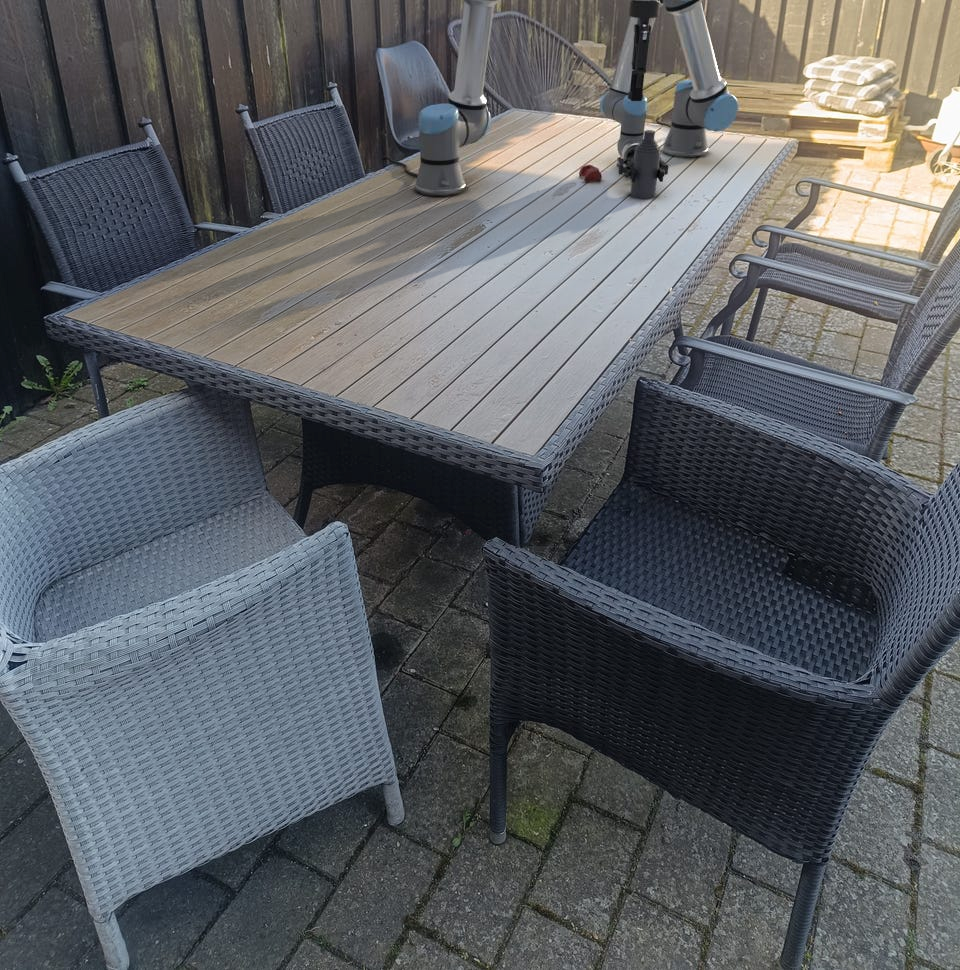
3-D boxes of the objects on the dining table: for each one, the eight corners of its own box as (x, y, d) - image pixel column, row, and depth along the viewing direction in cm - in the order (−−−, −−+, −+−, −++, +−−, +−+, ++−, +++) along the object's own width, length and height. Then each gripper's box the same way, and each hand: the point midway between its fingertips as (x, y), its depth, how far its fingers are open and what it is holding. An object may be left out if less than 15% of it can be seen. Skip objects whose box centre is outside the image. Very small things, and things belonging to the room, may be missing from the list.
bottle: (634, 190, 258) (640, 127, 248) (658, 193, 256) (665, 129, 245) (627, 196, 253) (633, 132, 242) (651, 200, 250) (658, 135, 240)
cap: (634, 100, 224) (635, 94, 223) (624, 98, 227) (624, 91, 226) (646, 99, 226) (647, 92, 225) (636, 96, 228) (636, 90, 228)
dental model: (594, 161, 269) (603, 168, 262) (593, 174, 271) (602, 181, 265) (577, 162, 268) (586, 169, 261) (577, 176, 270) (586, 183, 264)
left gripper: (664, 3, 205) (653, 106, 219) (656, -5, 219) (645, 92, 233) (633, 3, 206) (624, 105, 219) (627, -5, 220) (618, 92, 233)
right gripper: (666, 168, 267) (680, 190, 249) (602, 168, 267) (612, 190, 248) (669, 143, 263) (684, 163, 244) (604, 144, 263) (614, 164, 244)
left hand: (635, 98), depth 226 cm, fingers closed on cap, 4 cm apart
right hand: (648, 177), depth 246 cm, fingers closed on bottle, 7 cm apart
